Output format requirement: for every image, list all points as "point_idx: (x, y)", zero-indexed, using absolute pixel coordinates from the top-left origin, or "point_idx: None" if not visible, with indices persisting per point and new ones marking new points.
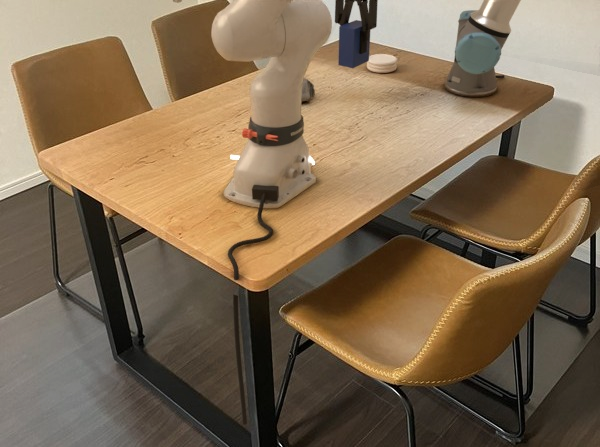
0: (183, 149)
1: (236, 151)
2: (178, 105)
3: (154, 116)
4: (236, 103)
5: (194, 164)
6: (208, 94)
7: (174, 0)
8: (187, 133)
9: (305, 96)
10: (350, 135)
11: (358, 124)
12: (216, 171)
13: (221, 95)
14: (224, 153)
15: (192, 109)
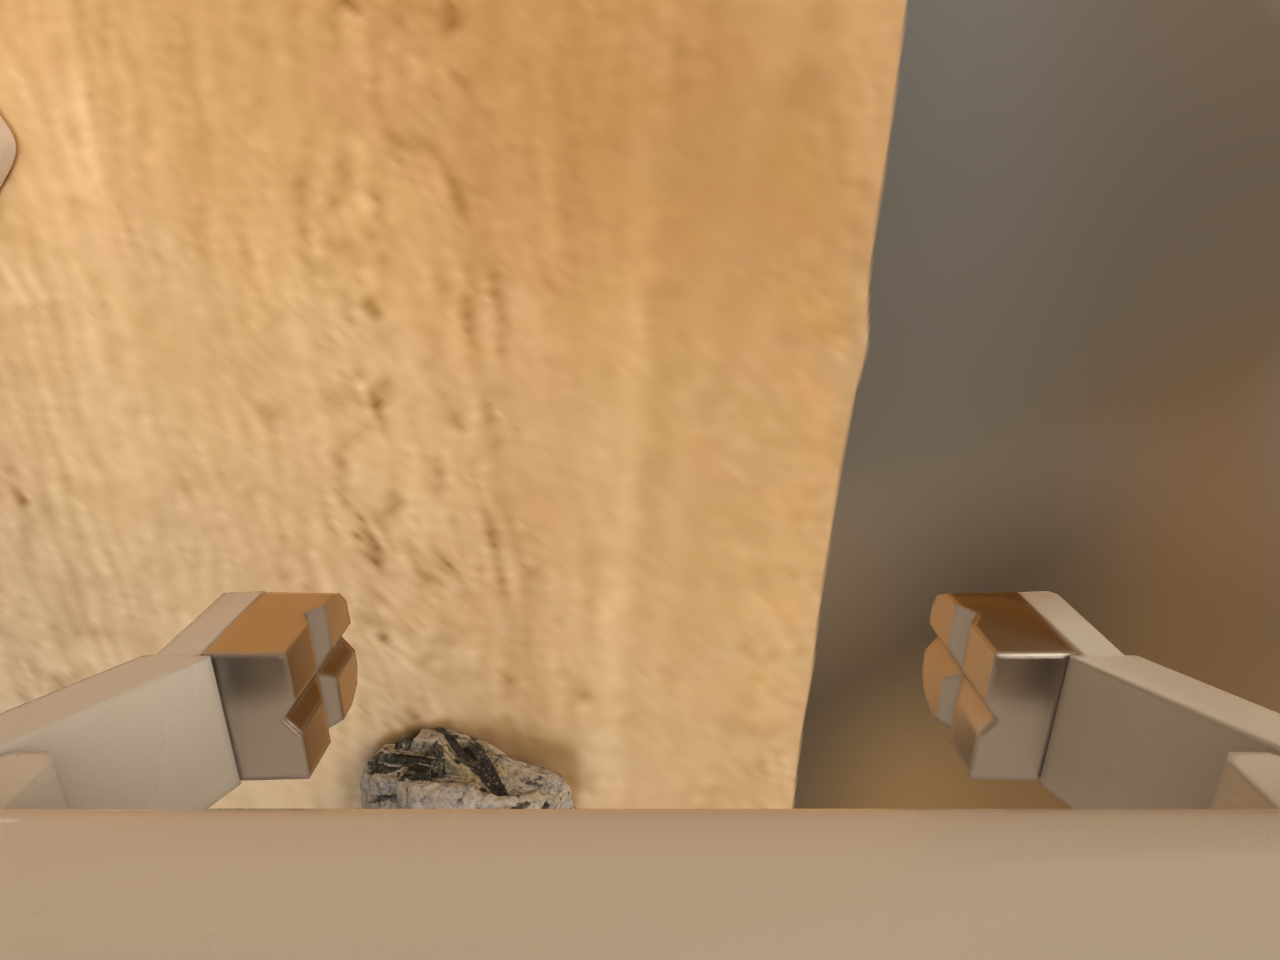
0: (378, 96)
1: (183, 246)
2: (810, 456)
3: (809, 290)
4: (604, 621)
5: (196, 3)
6: (787, 623)
7: (277, 597)
8: (515, 247)
9: (361, 788)
10: (6, 642)
11: None
12: (60, 18)
13: (728, 647)
14: (202, 194)
15: (717, 462)
